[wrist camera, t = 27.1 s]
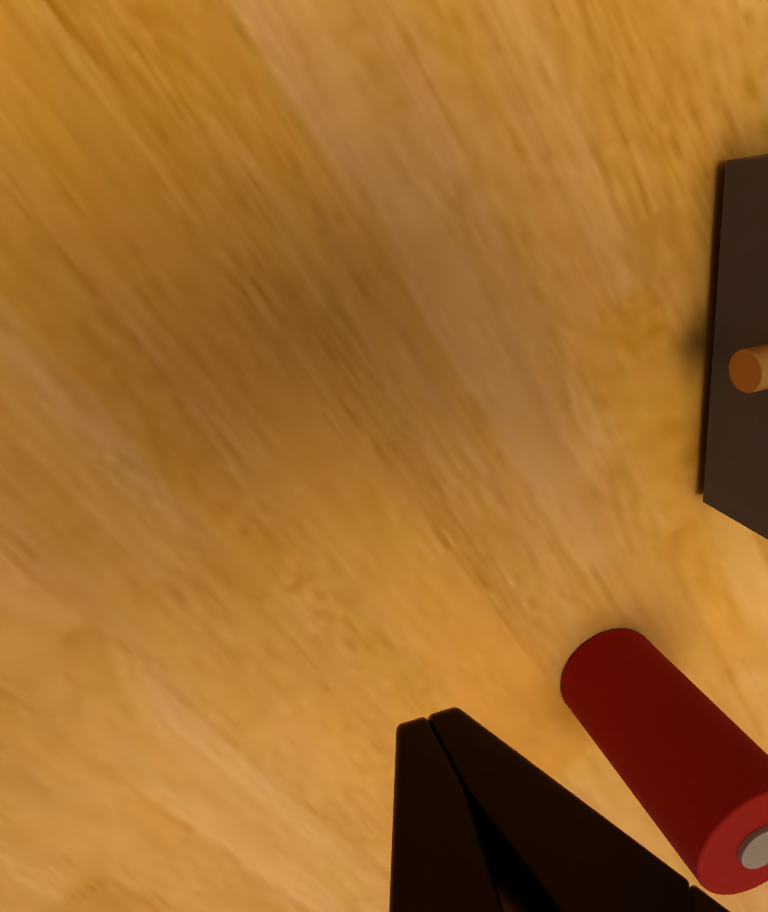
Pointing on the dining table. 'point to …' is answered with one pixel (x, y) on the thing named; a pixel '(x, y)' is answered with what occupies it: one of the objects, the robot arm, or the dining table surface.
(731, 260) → the drawer
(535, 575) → the dining table surface
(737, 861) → the roller
